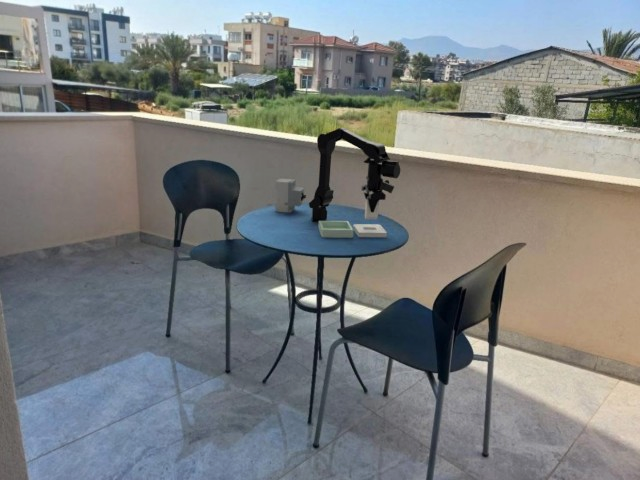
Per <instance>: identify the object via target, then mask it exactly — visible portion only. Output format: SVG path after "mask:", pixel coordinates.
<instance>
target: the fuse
mask: <svg viewBox="0 0 640 480" xmlns="http://www.w3.org/2000/svg"><path fill="white" fill-rule="evenodd" d="M379 205H380V200H379V201H378V202H377V205H376V208H375V210H374V212H371V210H370V207H369V203H368V199H365V205H364V207H365V208H364V218H365V220H378V217H379Z"/></svg>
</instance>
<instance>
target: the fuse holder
mask: <svg viewBox="0 0 640 480" xmlns="http://www.w3.org/2000/svg"><path fill="white" fill-rule="evenodd" d="M352 228H353V230H354V231H353V232H355V234H356V235H357V237H358V238H387V237H388V233H387V231H386V230H385V229H384V227H382V225H381V224H375V223H374V224H373V223H372V224H370V223H368V224H365V223H364V224H362V223H361V224H360V223H359V224H358V223H354V224H353V227H352Z"/></svg>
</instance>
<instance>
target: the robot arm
mask: <svg viewBox="0 0 640 480" xmlns="http://www.w3.org/2000/svg"><path fill="white" fill-rule="evenodd" d="M341 140H343V141H345V142H347V143H348V144H350V145H352V146H354V147H356V148H358V149H359V150H361V151H362V152H363V154H364V155H366V156H367V158H366V159H365V160H364V161H363V163H364V164H367V165H368V167H367V175H366V178H365V180H366V183H363V184H362V185H361V191H362V192H363V195H364V197H365V200H366V199H368V203H369V207H370V210H371V212H374V210H375V208H376V205H377V202H378V201H379V202H380V200H381V201H385V200H386V198H387V195H386V194H385V192H388V194H392V193H393V190H394V189H395V186H394V185H393V184H392V183H390V180H388V179H383V178H382V177H385V178H391V179H398V178H399V177H400V175H401V170H402V169H401V166H400V164H399V163H400V162H399V161H398V160H391V159H390V157H389V155H388V152H387V149H386V146H385V145H384V144H383V143H380V142H377V141H372V140H367V139H366V138H363V137H362V136H360V135H358V134H356V133H354V132H353V131H351V130H349V129H347V128H346V127H338V128H336V129H334V130H332V131H330V132H327V133H320V134H319V135H317V139H316V141H317V142H316V143H317V150H318V152H319V156H320V157H319V170H318V171H319V173H318V184H317V187H316V190H315V191H314V196H313V199H312V200H311V201H309V202H308V207H309V209H311V217H310V219H311V222H318V223H319V221H327V219H328V210H327V207H329V205H330V204H331V202H333V199H334V191H335V190H334V189H331V186H330V181H331V167H332V165H331V164H332V154H333V152H334V151H335V148H336V143H337V142H339V141H341ZM364 191H365V192H364ZM383 191H385V192H383Z"/></svg>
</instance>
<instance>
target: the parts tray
mask: <svg viewBox="0 0 640 480" xmlns="http://www.w3.org/2000/svg"><path fill="white" fill-rule="evenodd" d="M318 231H319V233H320V236H321V238H339V239H340V238H346V239H348V238H349V239H351V238H352V239H353V238H354V232H355V231H354V229H353V227H352V225H351V224H350V222H349V220H326V221H319V222H318Z"/></svg>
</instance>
